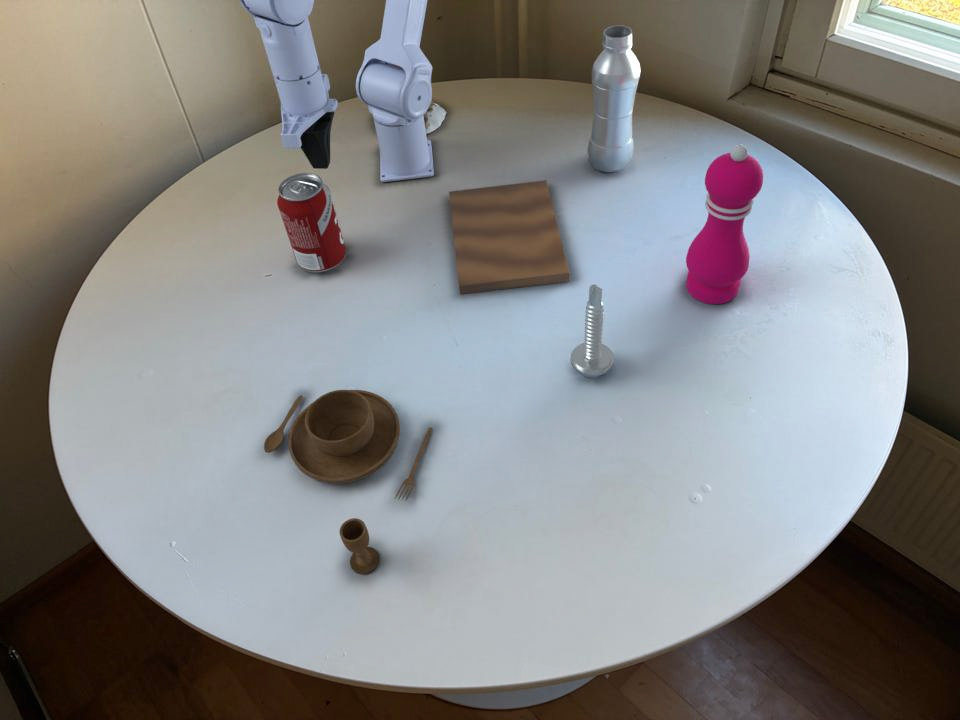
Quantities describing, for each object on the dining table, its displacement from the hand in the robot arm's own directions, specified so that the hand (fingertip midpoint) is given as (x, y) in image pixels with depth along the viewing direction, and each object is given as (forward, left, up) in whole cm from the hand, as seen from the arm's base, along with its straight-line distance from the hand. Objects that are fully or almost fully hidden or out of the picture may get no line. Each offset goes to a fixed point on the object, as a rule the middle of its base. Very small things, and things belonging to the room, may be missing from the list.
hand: (321, 165), depth 103 cm
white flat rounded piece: (-24, +12, -9) cm, 29 cm away
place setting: (+44, +2, -9) cm, 45 cm away
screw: (+34, +31, -9) cm, 46 cm away
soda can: (+9, -1, -9) cm, 13 cm away
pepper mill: (+23, +48, -9) cm, 53 cm away
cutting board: (+9, +24, -9) cm, 27 cm away
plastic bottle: (-5, +41, -9) cm, 42 cm away
